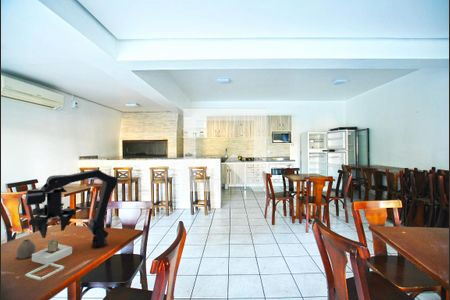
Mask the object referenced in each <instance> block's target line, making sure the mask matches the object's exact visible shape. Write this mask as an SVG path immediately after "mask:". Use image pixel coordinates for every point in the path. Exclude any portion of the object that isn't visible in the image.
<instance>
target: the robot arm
mask: <svg viewBox="0 0 450 300" xmlns="http://www.w3.org/2000/svg"><path fill="white" fill-rule="evenodd" d="M94 178H97V179H98V180H100V181H101V188H102V189H101V190H102V192H101V195H100V199H99V202H98V204H97V209H96V212H95V214H94V215H95V216H94V217H93V218H92V219H91V218H90V219H89V222H88V225H87V227H88V231H89V232H90V233H91V234H92V235H93V237H92V243H91V249H96V250H97V249H99V248H104V247H105V246H109V243H107V239H108V238H107V237H108V236H109V232H108V231H107V230H106V229H105V224H106V223H105V216H106V212H107V209H108V205H109V202H110V198H111V195H112V193H113V191H114V190H115V188H116V186H117V184H118V178H117V177H116V176H113V175H109V174H107V173H105V172H104V171H102V170H100V169H96V168H94V169H92V170H87V171H83V172H82V171H81V172H77V173H72V174H58V175H57V174H56V175H50V176H48V177H47V179H46V183H44V185H43V186H42V187H41V188H40V189H27V190H26V194H25V199H24V200H25V202H24V203H25V207H27V206H34V205H35V206H36V205H42V204H43V203H45V202H46V204H44V206H43V207H42V208H40V207H34V208H32V215H33V216H36V217H32V218H30V219H29V221H28V225H29V226H32V227H36V228H37V230H38V231H39V233H40V235H41V238H42V239H45V238H46V237H47V233H48V227H49V224H48V222H49V221H50V220H53V219H56V218H59V219H60V229H61V230H60V231H61V232H62V231H63V232H64V230H65V229H66V228H67V226H68V224H69V222H70V220H71V218H73V217H74V215H76V210H75V209H74V208H68V207H67V208H62V206H64V204H65V203H63V202H62V201H63V199H62V198H63V197H62V194H63V193H67V192H68V190H66V189H65V187H66V186H67V185H69V184H70V185H71V184H72V183H75V182H80V181H84V180H89V179H90V180H91V179H94Z"/></svg>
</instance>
